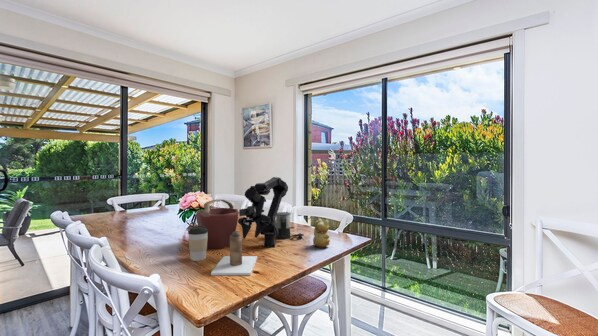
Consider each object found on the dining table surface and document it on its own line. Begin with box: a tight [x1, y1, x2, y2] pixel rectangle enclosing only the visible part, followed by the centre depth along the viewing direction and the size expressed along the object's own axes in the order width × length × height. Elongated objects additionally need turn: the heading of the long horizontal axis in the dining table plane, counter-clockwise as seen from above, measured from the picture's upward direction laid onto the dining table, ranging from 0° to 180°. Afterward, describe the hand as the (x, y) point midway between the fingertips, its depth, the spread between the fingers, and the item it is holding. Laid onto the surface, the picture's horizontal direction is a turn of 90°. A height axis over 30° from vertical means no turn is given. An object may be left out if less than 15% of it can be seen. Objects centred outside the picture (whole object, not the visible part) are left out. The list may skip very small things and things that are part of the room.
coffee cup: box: [187, 225, 208, 262], centre depth 133 cm, size 9×9×15 cm
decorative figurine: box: [312, 218, 331, 249], centre depth 152 cm, size 10×8×15 cm
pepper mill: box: [229, 230, 243, 266], centre depth 124 cm, size 5×5×14 cm
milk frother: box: [275, 211, 305, 240], centre depth 170 cm, size 14×16×15 cm
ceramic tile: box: [210, 255, 258, 276], centre depth 124 cm, size 20×16×1 cm
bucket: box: [195, 198, 239, 250], centre depth 155 cm, size 24×22×25 cm
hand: (249, 237), depth 132 cm, fingers open, 9 cm apart
